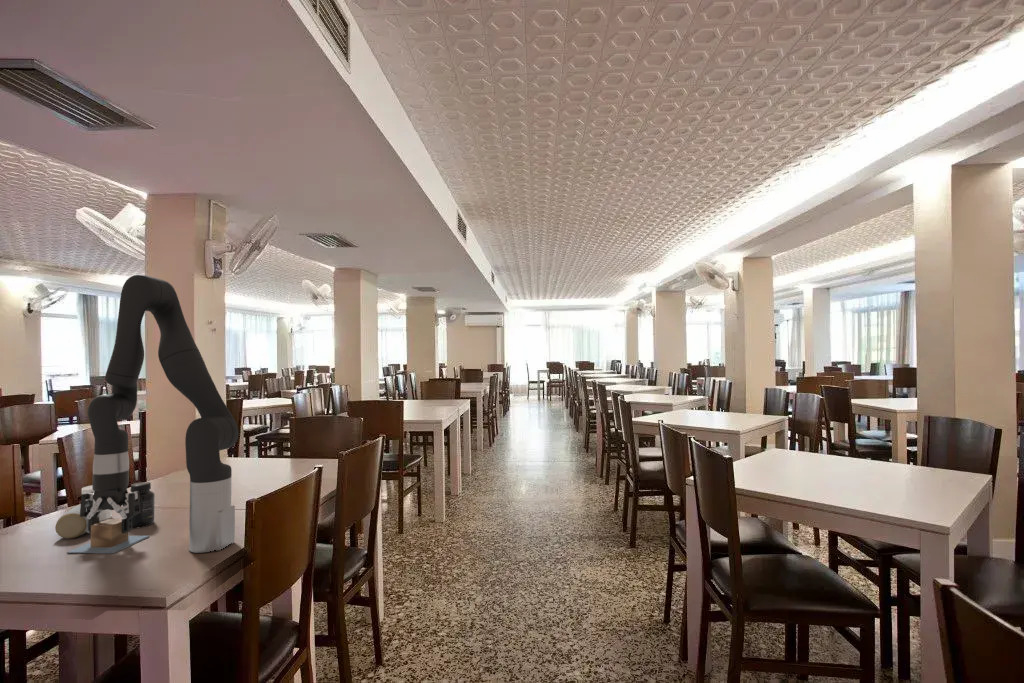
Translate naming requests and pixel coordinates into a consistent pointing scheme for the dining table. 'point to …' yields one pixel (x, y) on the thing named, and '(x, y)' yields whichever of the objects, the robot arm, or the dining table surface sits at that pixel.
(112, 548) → the slate mat
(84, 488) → the white cup
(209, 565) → the dining table surface
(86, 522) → the ceramic mug
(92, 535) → the walnut block
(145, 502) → the supplement bottle
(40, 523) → the dining table surface
